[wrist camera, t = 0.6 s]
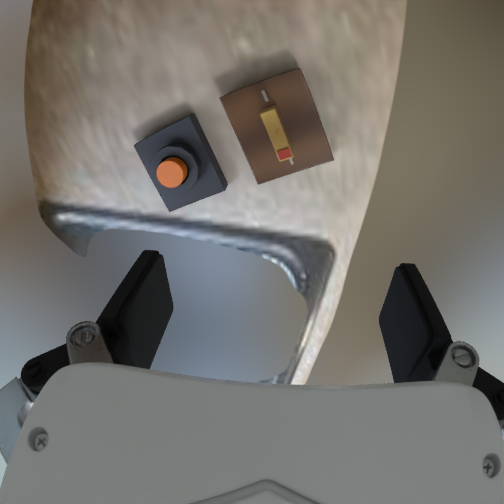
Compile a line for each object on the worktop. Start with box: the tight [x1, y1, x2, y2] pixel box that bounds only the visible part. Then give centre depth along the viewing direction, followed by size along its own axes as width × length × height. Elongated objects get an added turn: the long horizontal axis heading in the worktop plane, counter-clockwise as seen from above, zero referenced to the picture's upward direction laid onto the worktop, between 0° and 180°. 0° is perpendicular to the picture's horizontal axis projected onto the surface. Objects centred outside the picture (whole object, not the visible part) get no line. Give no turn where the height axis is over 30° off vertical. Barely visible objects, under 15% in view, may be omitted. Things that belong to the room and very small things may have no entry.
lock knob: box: [260, 105, 294, 162], centre depth 30 cm, size 6×2×5 cm, turn 23°
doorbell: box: [134, 114, 228, 212], centre depth 37 cm, size 11×9×4 cm
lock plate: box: [220, 68, 334, 184], centre depth 34 cm, size 12×10×3 cm
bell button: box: [157, 157, 187, 188], centre depth 35 cm, size 4×4×2 cm
